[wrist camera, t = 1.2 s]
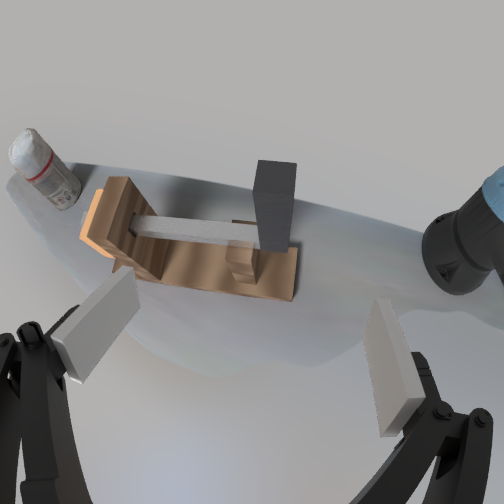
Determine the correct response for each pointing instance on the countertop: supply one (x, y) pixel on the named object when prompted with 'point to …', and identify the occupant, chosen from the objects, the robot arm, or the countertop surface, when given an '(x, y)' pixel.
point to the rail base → (186, 252)
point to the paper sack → (44, 169)
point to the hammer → (234, 234)
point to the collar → (88, 222)
